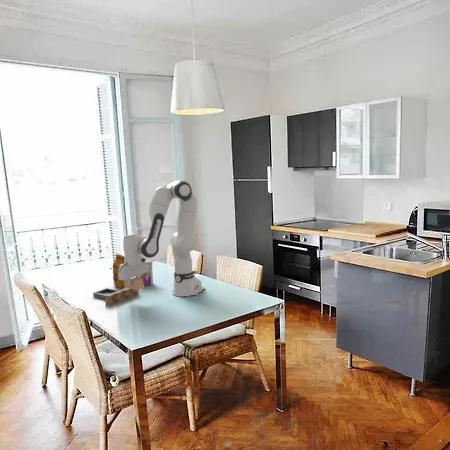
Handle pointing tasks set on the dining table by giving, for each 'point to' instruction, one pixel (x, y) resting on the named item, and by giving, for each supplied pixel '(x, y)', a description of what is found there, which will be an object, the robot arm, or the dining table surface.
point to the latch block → (134, 283)
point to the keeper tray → (103, 293)
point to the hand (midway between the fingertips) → (133, 283)
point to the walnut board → (120, 296)
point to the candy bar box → (147, 274)
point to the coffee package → (116, 264)
